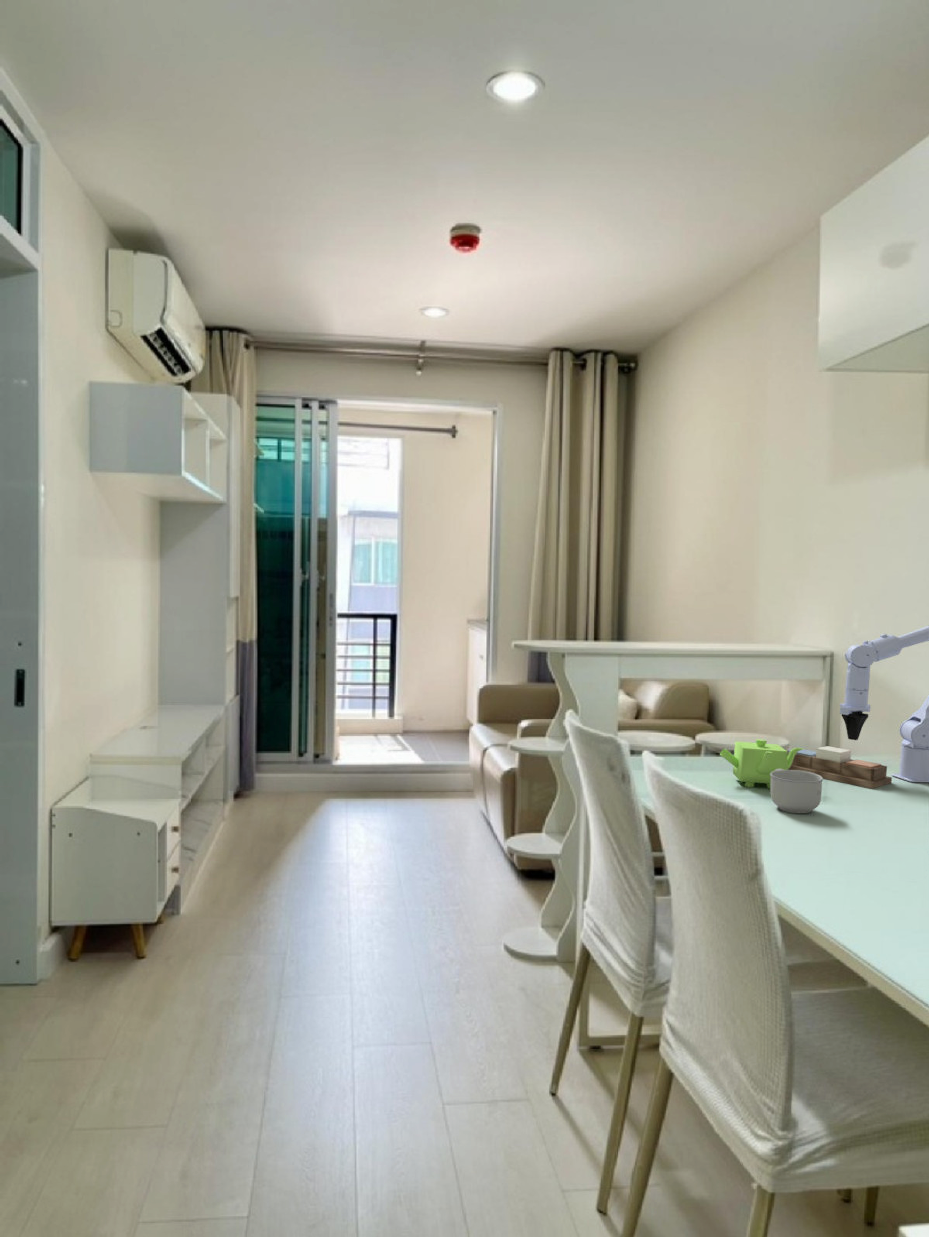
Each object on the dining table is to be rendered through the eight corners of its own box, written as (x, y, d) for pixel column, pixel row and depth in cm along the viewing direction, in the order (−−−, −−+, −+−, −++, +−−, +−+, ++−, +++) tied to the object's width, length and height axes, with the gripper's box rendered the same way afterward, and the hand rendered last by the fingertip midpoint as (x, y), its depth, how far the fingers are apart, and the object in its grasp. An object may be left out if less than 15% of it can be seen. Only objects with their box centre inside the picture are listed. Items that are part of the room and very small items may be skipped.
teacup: (827, 818, 188) (830, 781, 188) (777, 815, 188) (779, 778, 188) (804, 801, 202) (806, 767, 201) (756, 798, 202) (759, 764, 202)
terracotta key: (880, 776, 227) (881, 764, 227) (870, 779, 223) (871, 766, 223) (855, 771, 232) (856, 759, 232) (845, 774, 228) (846, 761, 228)
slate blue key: (820, 764, 239) (821, 752, 239) (809, 766, 235) (810, 754, 235) (797, 759, 244) (798, 748, 244) (786, 762, 239) (787, 750, 239)
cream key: (850, 762, 233) (851, 750, 233) (839, 764, 229) (840, 752, 229) (826, 757, 238) (827, 746, 238) (815, 760, 233) (816, 748, 233)
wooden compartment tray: (891, 783, 228) (892, 765, 228) (872, 788, 220) (873, 770, 220) (796, 763, 247) (797, 747, 247) (775, 768, 239) (776, 751, 239)
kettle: (801, 787, 216) (804, 742, 216) (771, 795, 207) (775, 748, 206) (746, 775, 227) (749, 732, 227) (716, 781, 218) (719, 736, 217)
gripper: (853, 686, 244) (849, 734, 244) (830, 688, 234) (826, 739, 234) (879, 689, 238) (875, 739, 239) (856, 692, 229) (852, 743, 229)
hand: (852, 739), depth 236 cm, fingers closed
